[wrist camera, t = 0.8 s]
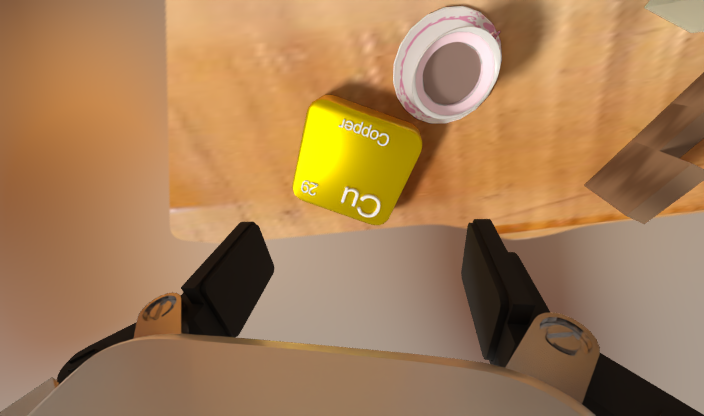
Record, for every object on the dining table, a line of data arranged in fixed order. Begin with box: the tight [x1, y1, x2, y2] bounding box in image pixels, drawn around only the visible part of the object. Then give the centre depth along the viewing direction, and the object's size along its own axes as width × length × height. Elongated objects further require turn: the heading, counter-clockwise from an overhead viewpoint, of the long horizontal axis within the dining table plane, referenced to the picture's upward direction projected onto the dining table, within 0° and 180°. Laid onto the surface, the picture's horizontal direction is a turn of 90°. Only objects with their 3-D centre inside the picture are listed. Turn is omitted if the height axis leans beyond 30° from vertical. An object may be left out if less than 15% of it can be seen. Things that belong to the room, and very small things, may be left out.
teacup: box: [393, 6, 502, 123], centre depth 27 cm, size 12×12×6 cm
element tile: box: [292, 95, 422, 225], centre depth 36 cm, size 15×15×5 cm
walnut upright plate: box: [584, 73, 704, 224], centre depth 26 cm, size 18×2×8 cm, turn 158°
